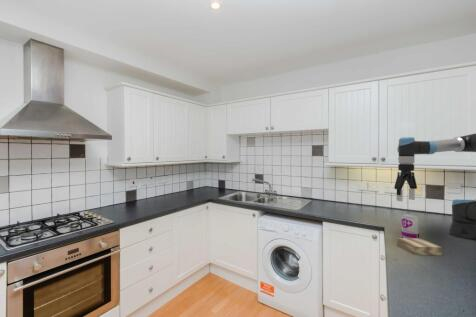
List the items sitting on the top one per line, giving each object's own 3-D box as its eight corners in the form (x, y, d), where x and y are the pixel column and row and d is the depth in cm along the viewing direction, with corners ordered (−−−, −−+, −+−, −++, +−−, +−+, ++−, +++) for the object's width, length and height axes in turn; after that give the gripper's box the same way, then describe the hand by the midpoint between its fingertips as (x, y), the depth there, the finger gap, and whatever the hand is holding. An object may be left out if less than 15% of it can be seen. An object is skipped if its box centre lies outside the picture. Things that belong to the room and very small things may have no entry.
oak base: (421, 245, 126) (421, 238, 126) (441, 255, 113) (441, 247, 113) (397, 245, 126) (397, 237, 126) (415, 254, 113) (415, 246, 113)
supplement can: (411, 244, 129) (412, 217, 129) (397, 239, 137) (398, 214, 137) (422, 243, 131) (422, 216, 131) (408, 238, 139) (408, 213, 139)
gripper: (409, 164, 144) (409, 198, 143) (387, 163, 131) (386, 200, 131) (424, 164, 137) (423, 200, 137) (402, 163, 125) (401, 202, 125)
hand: (405, 200), depth 134 cm, fingers open, 13 cm apart
